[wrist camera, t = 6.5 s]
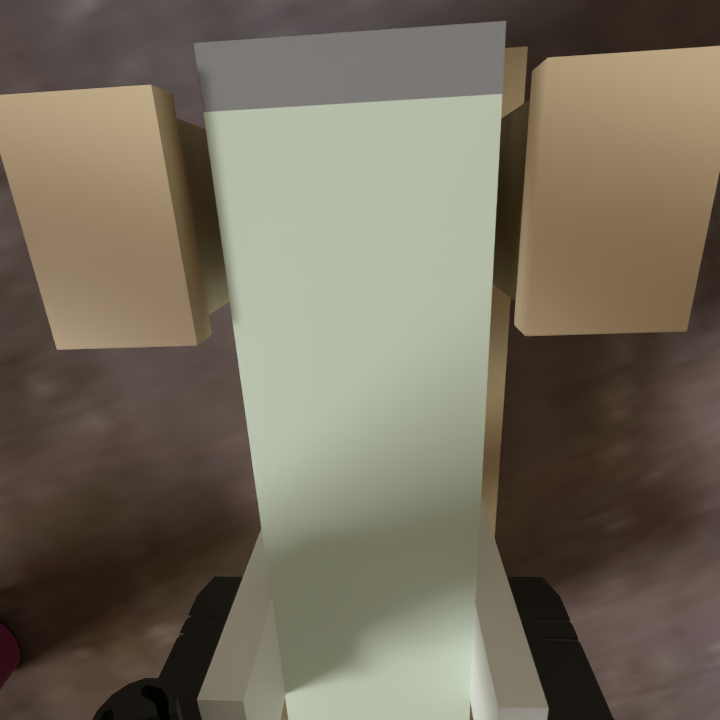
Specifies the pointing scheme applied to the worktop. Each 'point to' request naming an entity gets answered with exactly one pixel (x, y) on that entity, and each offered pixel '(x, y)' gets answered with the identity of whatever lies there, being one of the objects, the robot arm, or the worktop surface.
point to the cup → (7, 654)
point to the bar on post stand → (513, 211)
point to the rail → (363, 344)
